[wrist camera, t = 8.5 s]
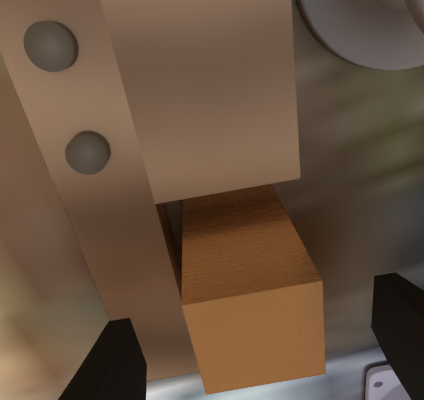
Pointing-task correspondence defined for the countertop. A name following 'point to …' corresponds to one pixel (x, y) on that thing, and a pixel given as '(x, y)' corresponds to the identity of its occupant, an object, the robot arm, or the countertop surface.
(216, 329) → the wooden block
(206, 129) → the terminal board
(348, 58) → the door knob
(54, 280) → the countertop surface
